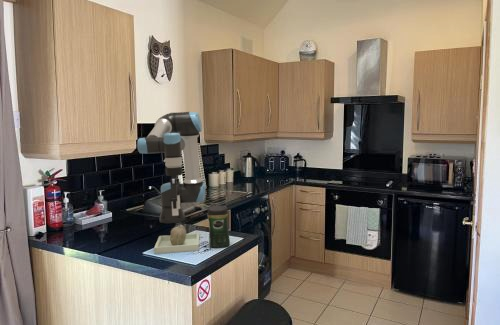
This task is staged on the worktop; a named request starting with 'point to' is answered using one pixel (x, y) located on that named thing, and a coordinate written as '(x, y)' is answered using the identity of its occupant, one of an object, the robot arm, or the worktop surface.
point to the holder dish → (166, 247)
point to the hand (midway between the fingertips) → (176, 212)
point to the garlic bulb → (178, 235)
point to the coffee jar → (218, 226)
